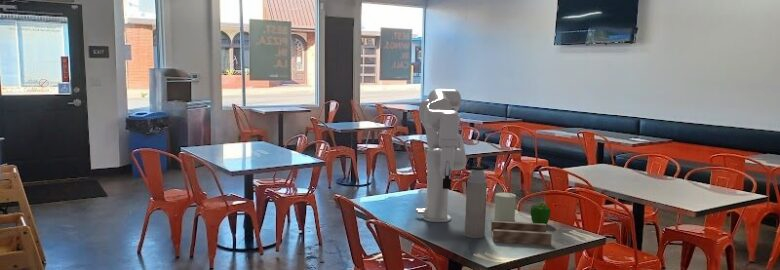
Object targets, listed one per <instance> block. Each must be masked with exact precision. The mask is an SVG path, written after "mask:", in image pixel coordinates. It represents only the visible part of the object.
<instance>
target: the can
mask: <svg viewBox="0 0 780 270" xmlns="http://www.w3.org/2000/svg"><path fill="white" fill-rule="evenodd" d="M494 196H495V197H494V200H495V201H494V216H493V221H507V222H516V221H515V219H516V201H517V200H516V199H517V195H516V194H514V193H511V192H497V193H495V194H494Z"/></svg>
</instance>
